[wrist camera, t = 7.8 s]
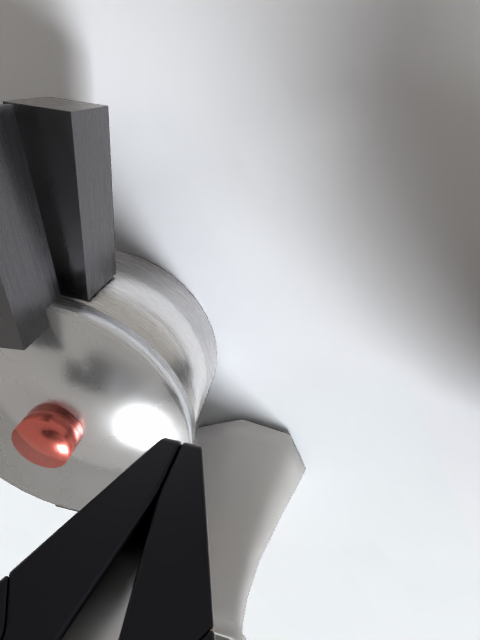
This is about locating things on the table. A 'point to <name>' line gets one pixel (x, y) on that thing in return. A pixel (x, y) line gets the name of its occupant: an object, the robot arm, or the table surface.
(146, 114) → the table surface
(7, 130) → the lid
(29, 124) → the pot
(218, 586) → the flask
